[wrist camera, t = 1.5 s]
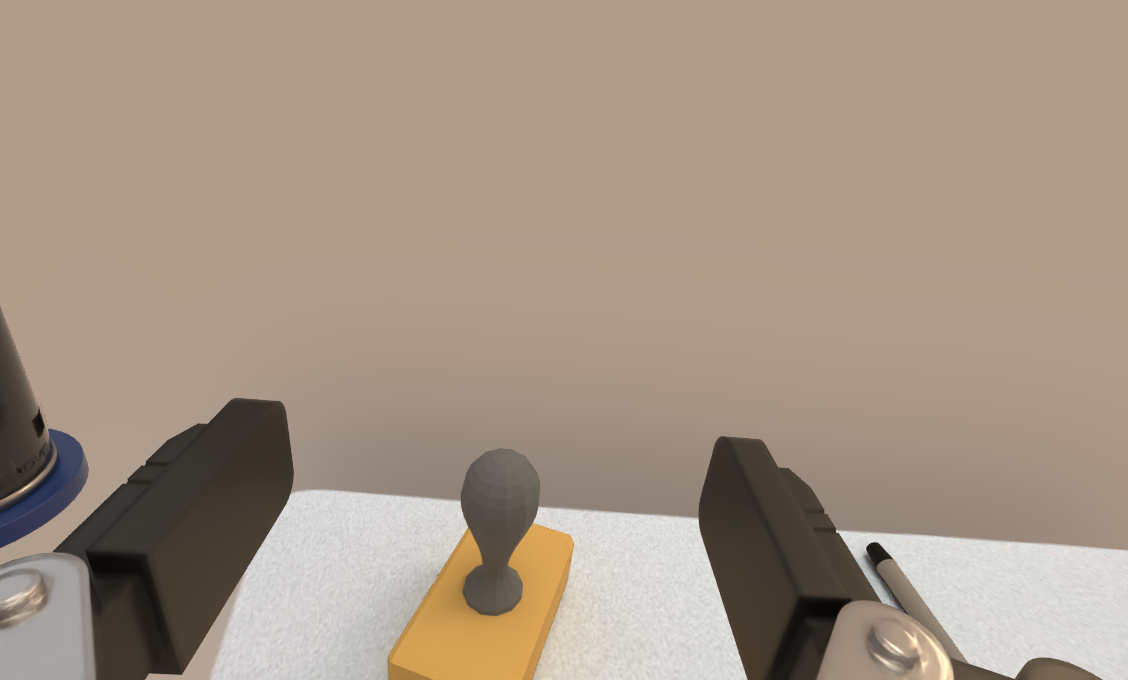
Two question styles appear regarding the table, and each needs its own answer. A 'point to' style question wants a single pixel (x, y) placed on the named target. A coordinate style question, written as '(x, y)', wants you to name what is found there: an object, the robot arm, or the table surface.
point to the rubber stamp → (490, 584)
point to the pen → (910, 598)
